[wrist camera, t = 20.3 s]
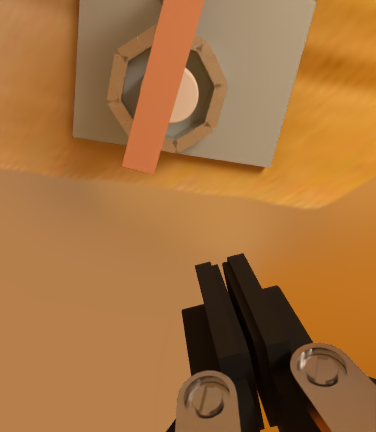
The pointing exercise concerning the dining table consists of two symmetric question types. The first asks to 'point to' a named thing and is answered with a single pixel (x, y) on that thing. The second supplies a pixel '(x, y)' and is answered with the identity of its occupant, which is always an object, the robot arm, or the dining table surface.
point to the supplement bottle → (184, 98)
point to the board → (199, 71)
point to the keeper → (161, 82)
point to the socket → (212, 102)
